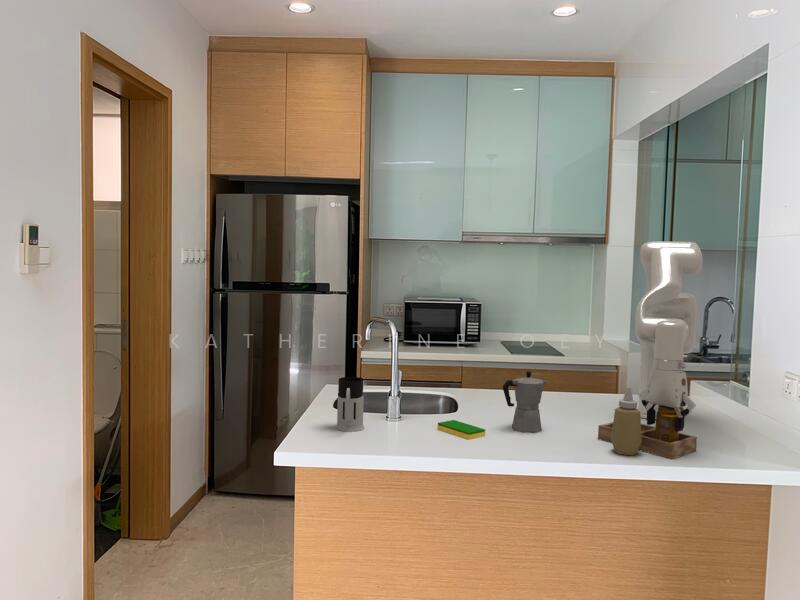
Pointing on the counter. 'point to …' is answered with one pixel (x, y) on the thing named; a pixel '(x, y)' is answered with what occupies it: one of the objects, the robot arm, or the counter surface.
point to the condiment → (666, 424)
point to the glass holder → (350, 404)
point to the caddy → (655, 441)
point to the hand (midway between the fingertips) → (664, 427)
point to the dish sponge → (461, 429)
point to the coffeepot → (526, 402)
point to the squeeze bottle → (626, 426)
